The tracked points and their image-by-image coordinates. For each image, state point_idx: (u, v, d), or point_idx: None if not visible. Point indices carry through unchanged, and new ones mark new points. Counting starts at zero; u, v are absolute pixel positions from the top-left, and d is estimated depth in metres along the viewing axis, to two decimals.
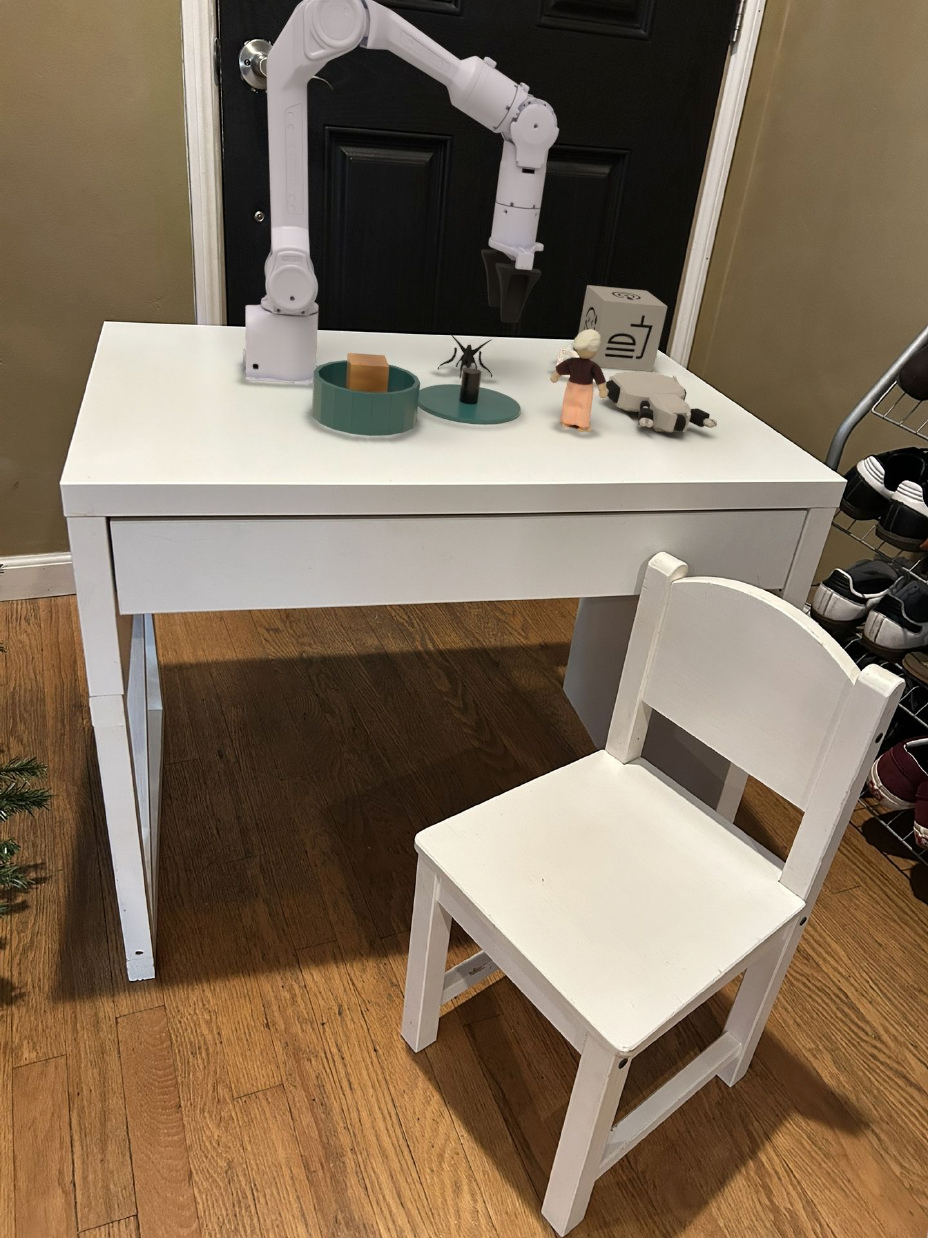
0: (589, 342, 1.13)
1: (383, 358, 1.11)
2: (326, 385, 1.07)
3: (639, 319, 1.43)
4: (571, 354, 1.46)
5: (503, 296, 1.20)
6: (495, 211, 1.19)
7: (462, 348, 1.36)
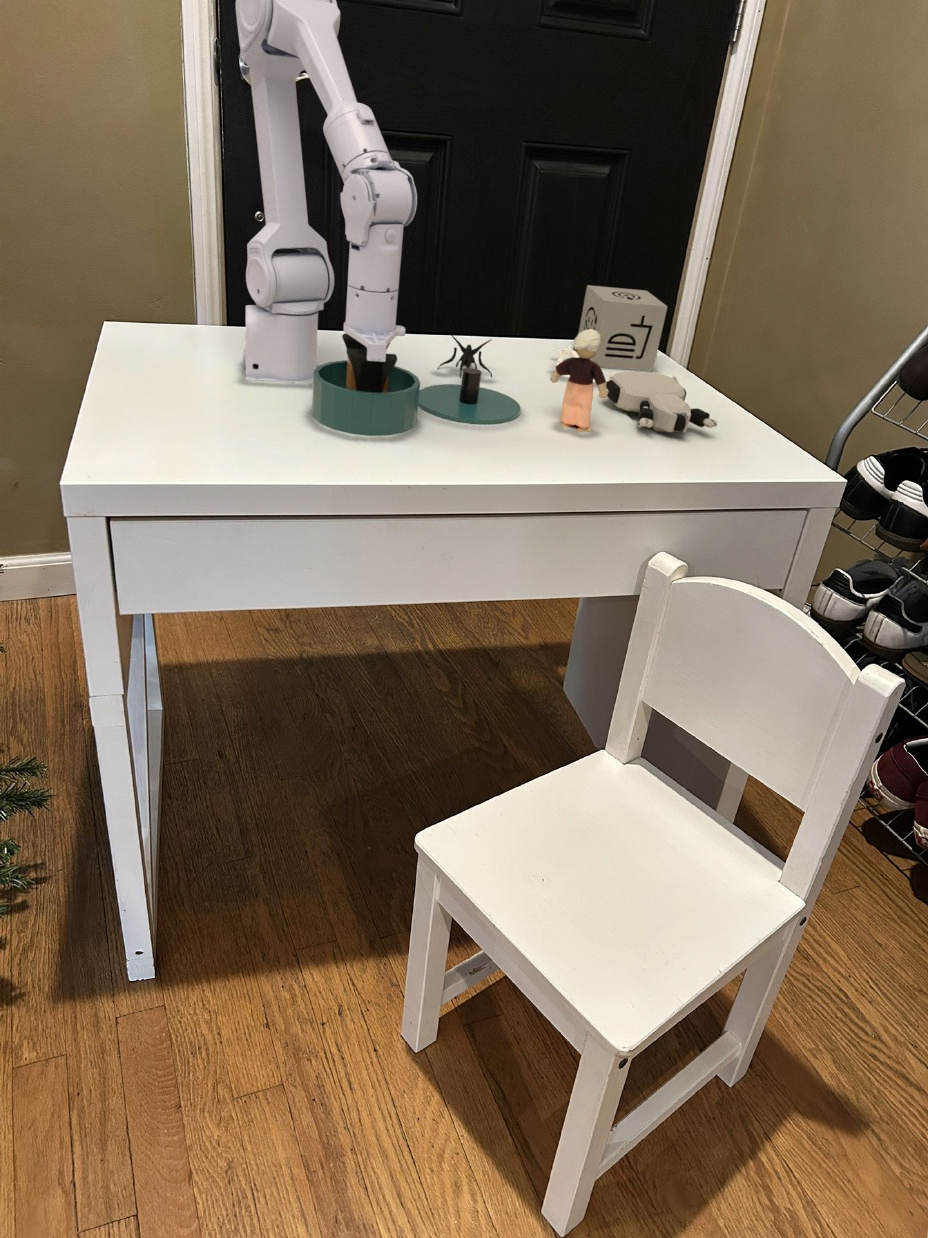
0: (589, 342, 1.13)
1: None
2: (326, 385, 1.07)
3: (639, 319, 1.43)
4: (571, 354, 1.46)
5: (357, 384, 1.08)
6: (347, 294, 1.06)
7: (462, 348, 1.36)
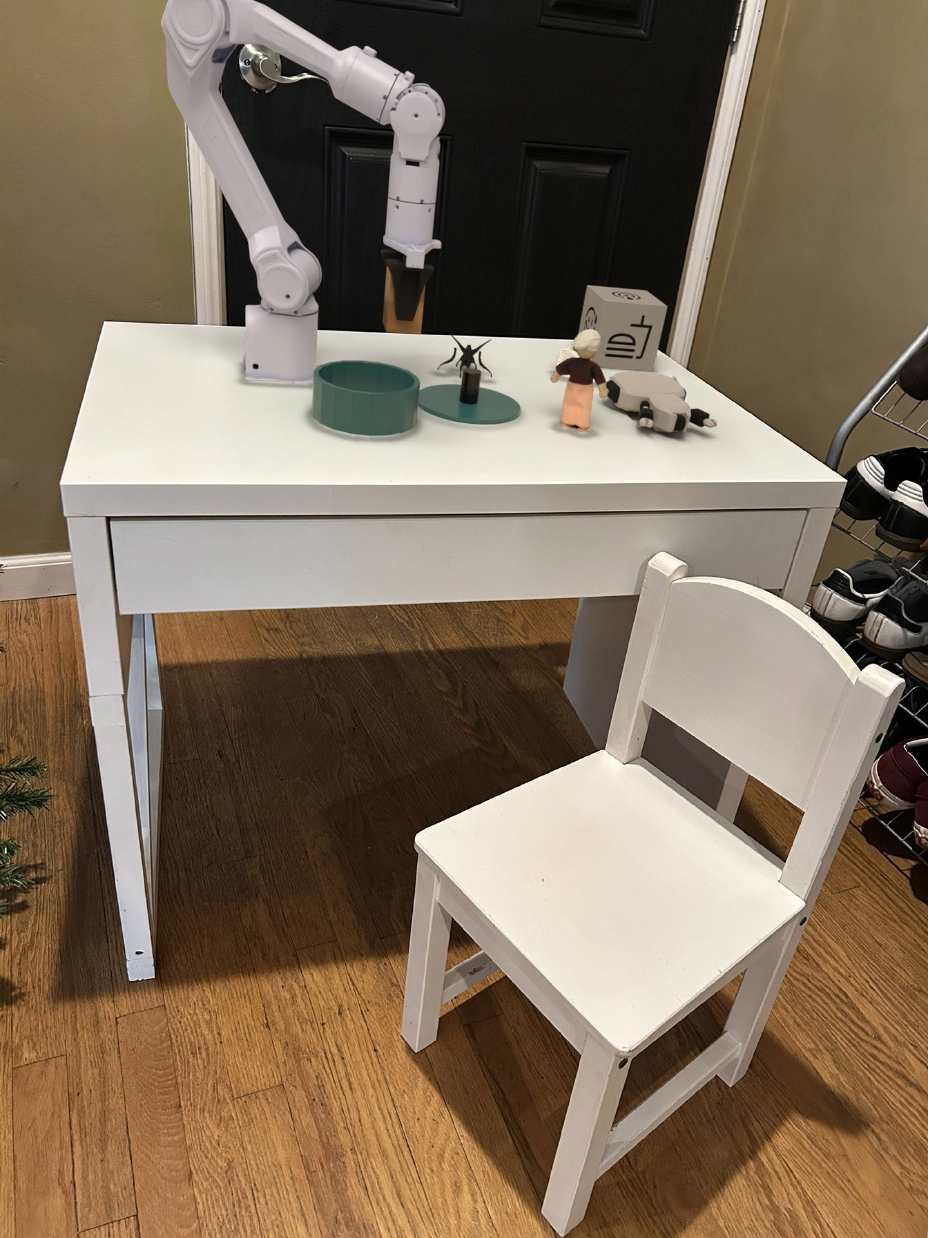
0: (589, 342, 1.13)
1: None
2: (326, 385, 1.07)
3: (639, 319, 1.43)
4: (571, 354, 1.46)
5: (395, 293, 1.15)
6: (387, 206, 1.13)
7: (462, 348, 1.36)
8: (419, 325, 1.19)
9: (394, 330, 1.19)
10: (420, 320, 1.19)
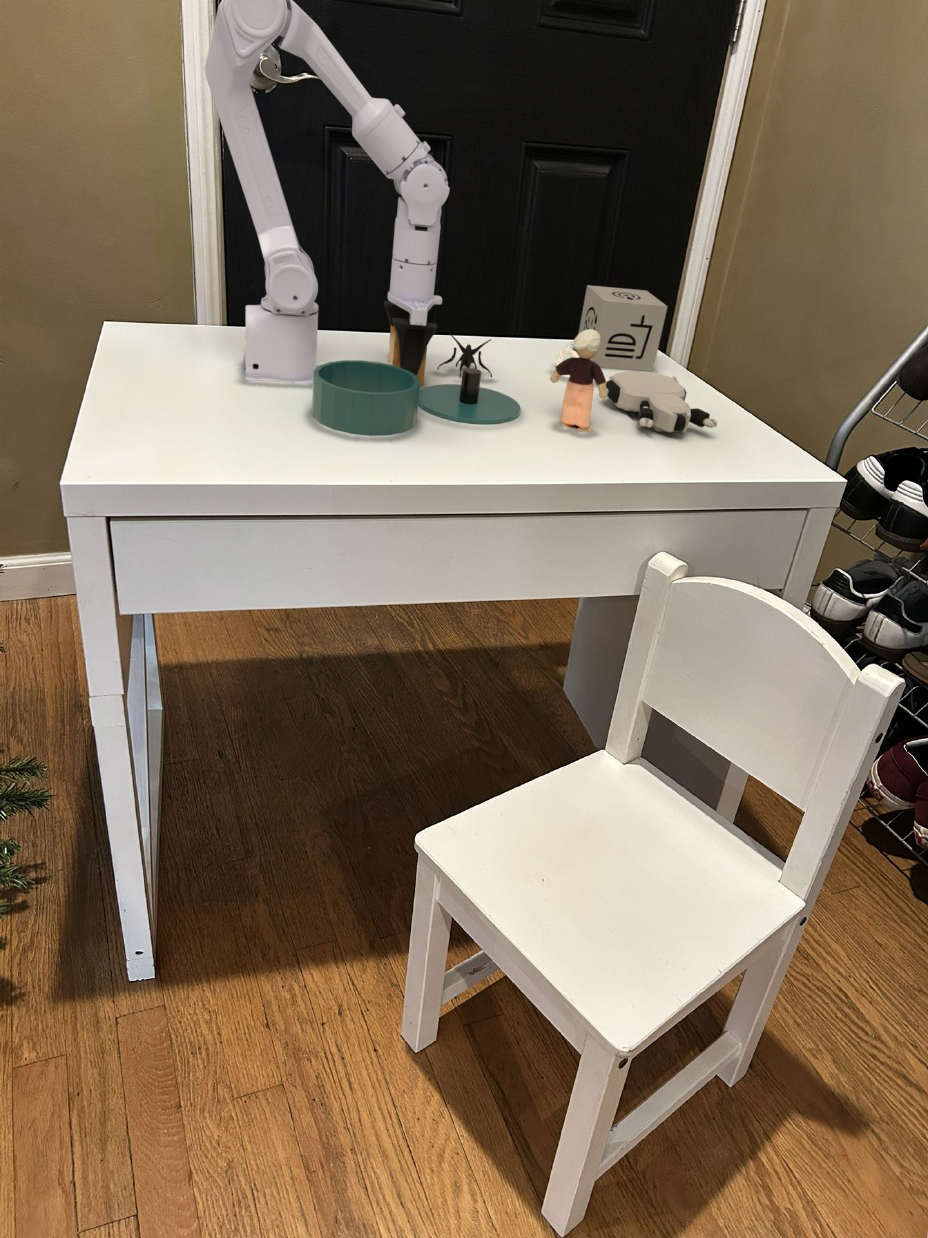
0: (589, 342, 1.13)
1: None
2: (326, 385, 1.07)
3: (639, 319, 1.43)
4: (571, 354, 1.46)
5: (401, 350, 1.21)
6: (392, 266, 1.20)
7: (462, 348, 1.36)
8: (421, 380, 1.26)
9: None
10: (422, 376, 1.26)
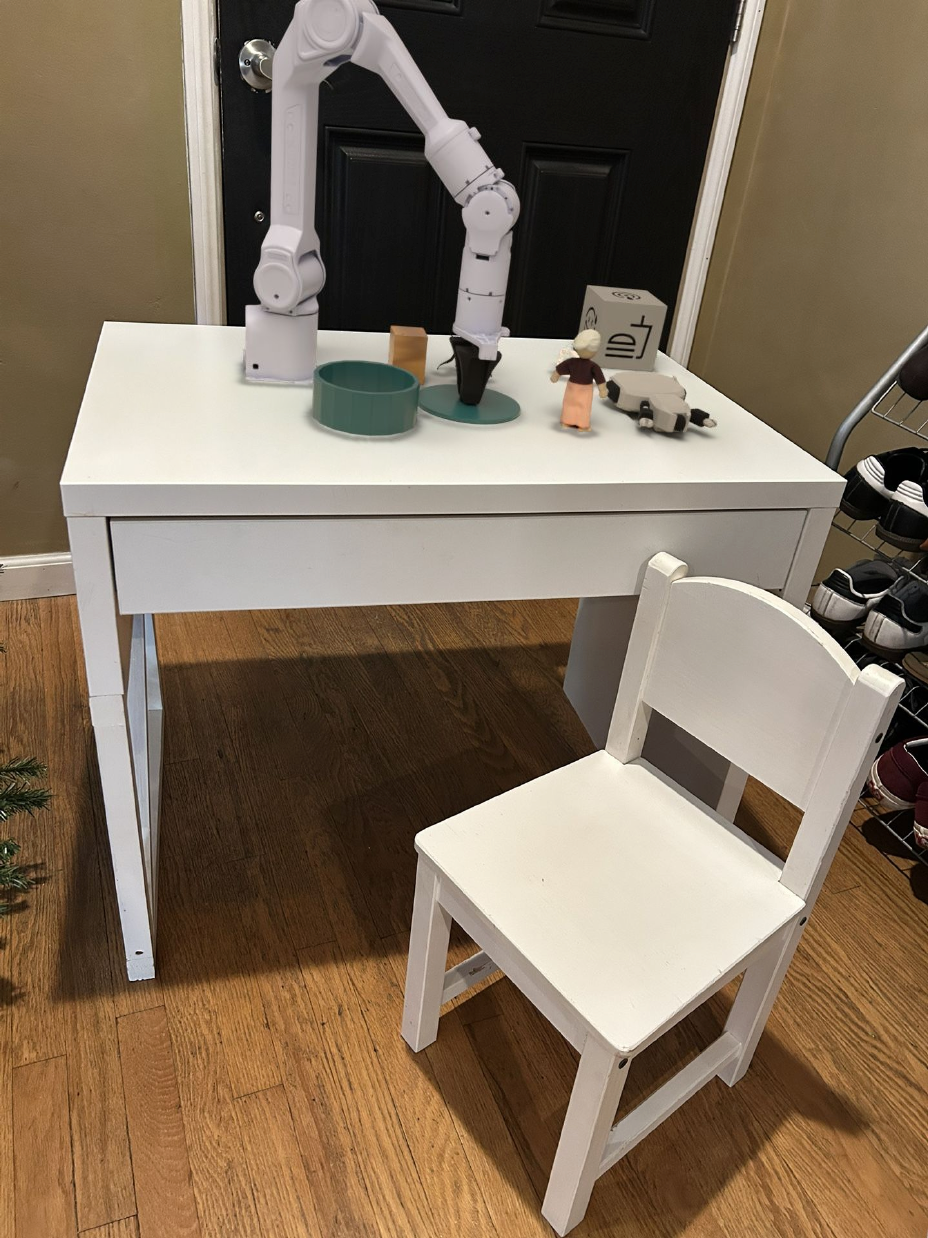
0: (589, 342, 1.13)
1: (422, 330, 1.26)
2: (326, 385, 1.07)
3: (639, 319, 1.43)
4: (571, 354, 1.46)
5: (463, 378, 1.17)
6: (458, 297, 1.14)
7: None
8: (421, 380, 1.26)
9: None
10: (422, 376, 1.26)
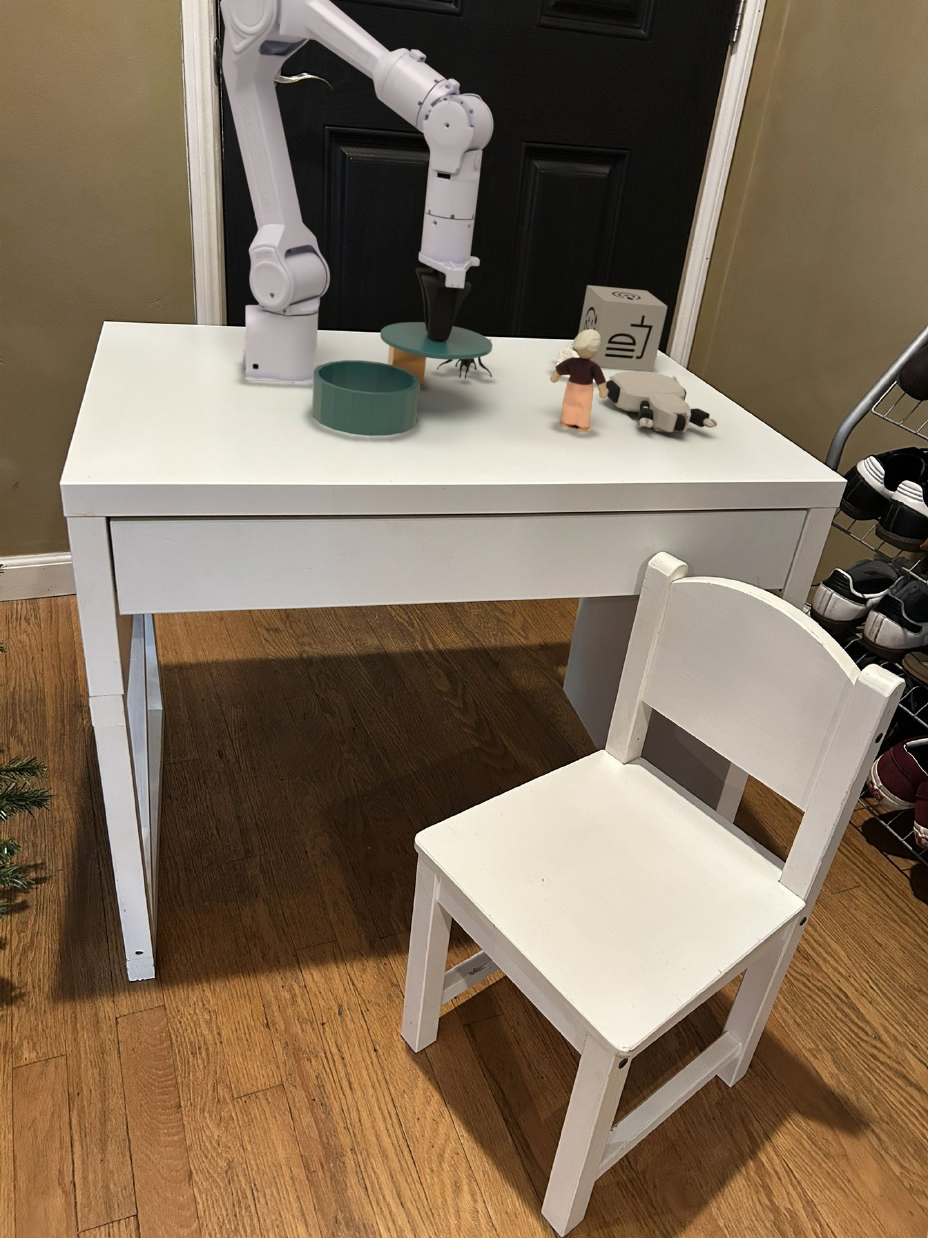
0: (589, 342, 1.13)
1: None
2: (326, 385, 1.07)
3: (639, 319, 1.43)
4: (571, 354, 1.46)
5: (430, 311, 1.10)
6: (424, 222, 1.07)
7: None
8: (421, 380, 1.26)
9: None
10: (422, 376, 1.26)
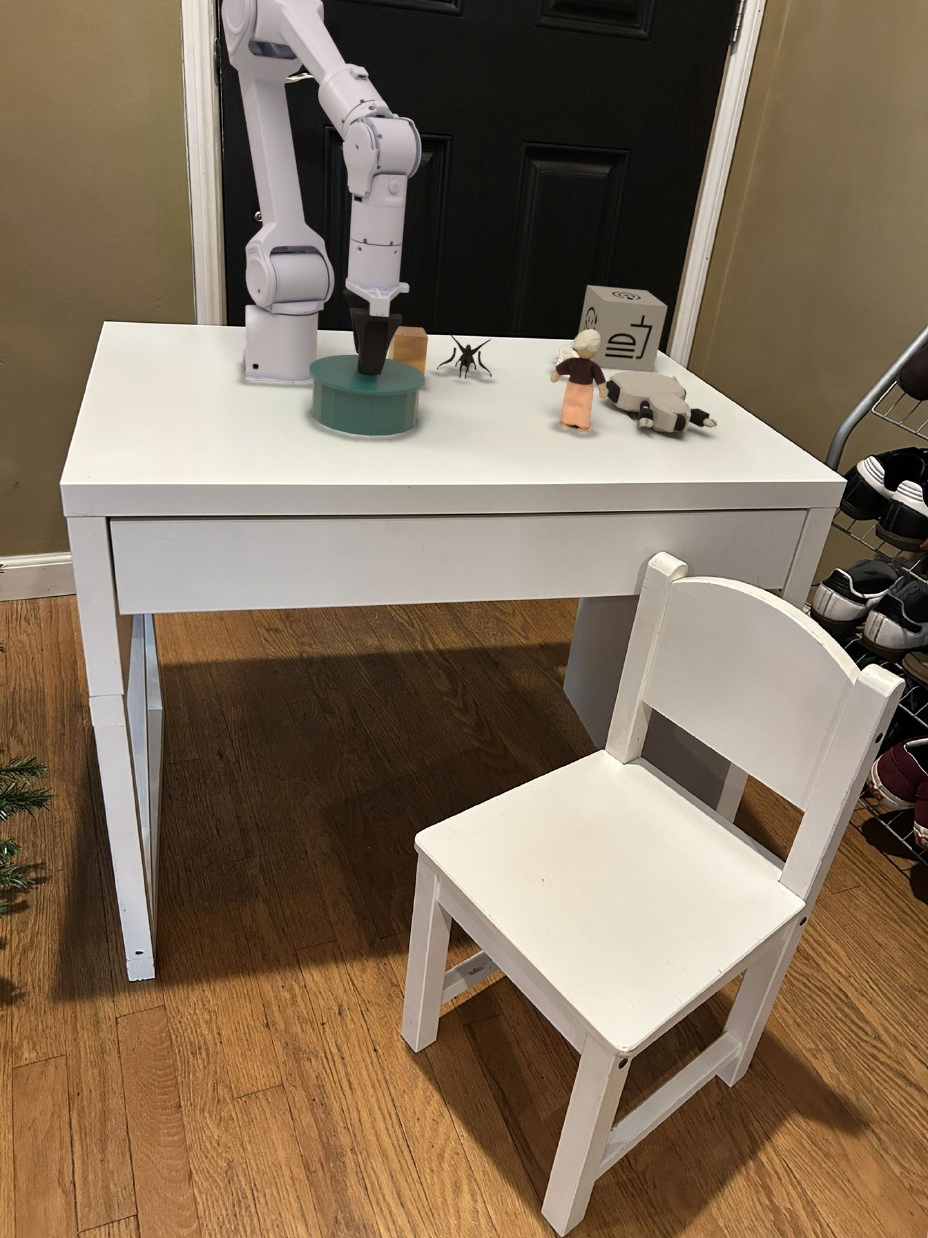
0: (589, 342, 1.13)
1: (422, 330, 1.26)
2: None
3: (639, 319, 1.43)
4: (571, 354, 1.46)
5: (360, 345, 1.04)
6: (350, 248, 1.03)
7: (461, 348, 1.36)
8: None
9: None
10: None
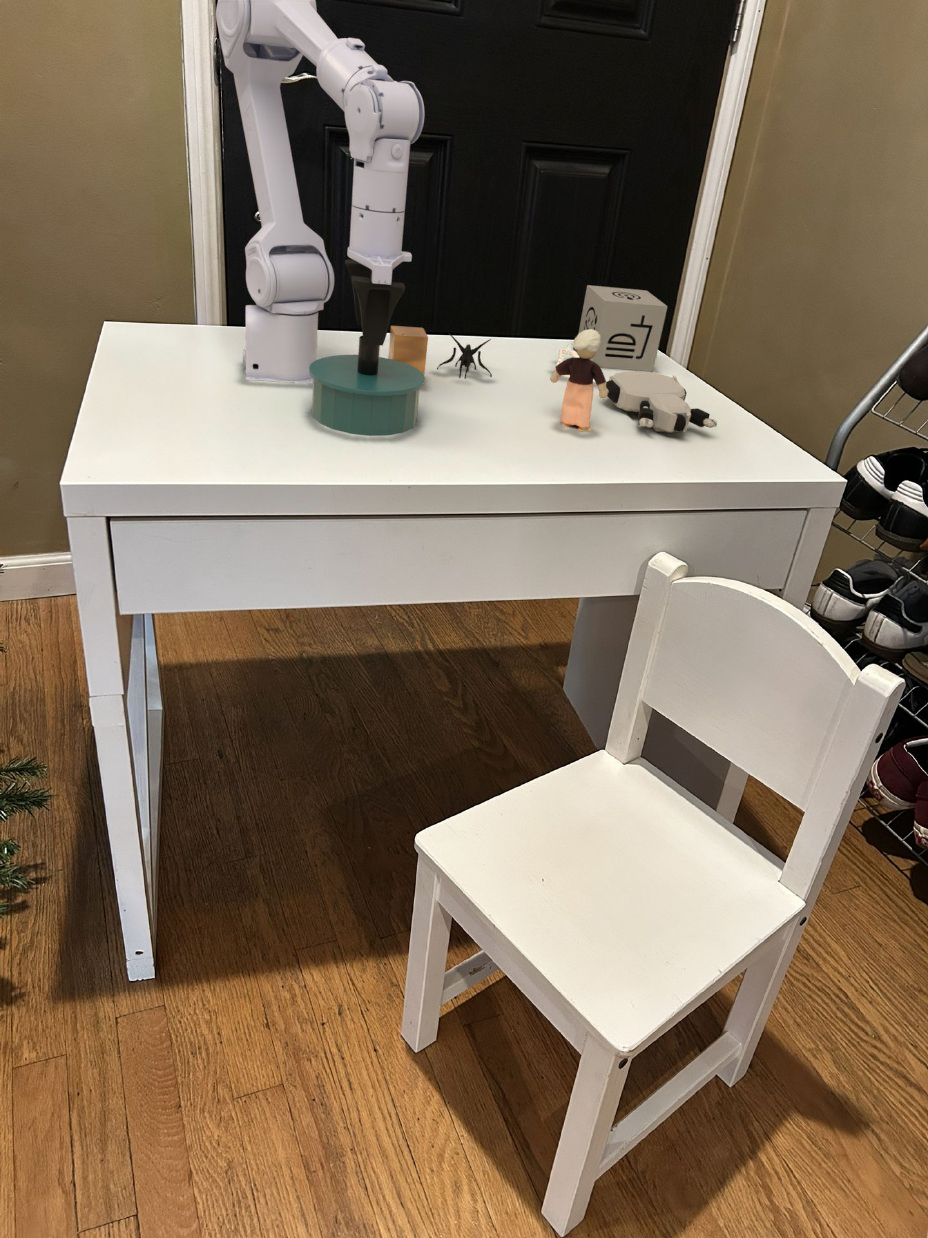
0: (589, 342, 1.13)
1: (422, 330, 1.26)
2: None
3: (639, 319, 1.43)
4: (571, 354, 1.46)
5: (362, 315, 1.03)
6: (351, 215, 1.01)
7: (461, 348, 1.36)
8: None
9: None
10: None
